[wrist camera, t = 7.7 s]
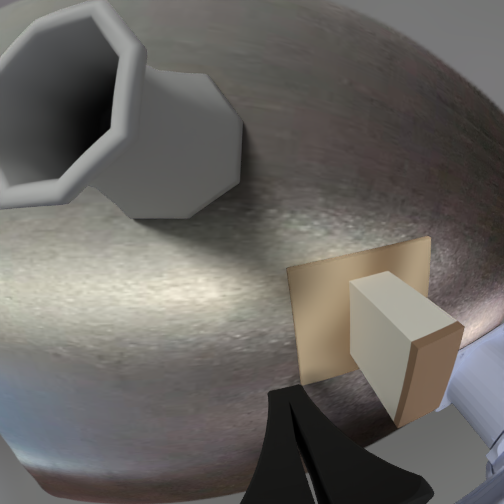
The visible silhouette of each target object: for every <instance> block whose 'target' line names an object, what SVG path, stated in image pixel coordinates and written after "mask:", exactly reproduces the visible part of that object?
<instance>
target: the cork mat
mask: <svg viewBox="0 0 504 504" xmlns="http://www.w3.org/2000/svg"><path fill="white" fill-rule="evenodd" d="M430 254H431V237H428V236H425V237H421V238H417V239H413V240H409V241H404V242H400V243H396V244H392V245H387V246H383V247H379V248H375V249H370V250H366V251H361V252H357V253H353V254H348V255H344V256H339V257H335V258H330V259H326V260H321V261H316V262H312V263H307V264H302V265H298V266H293V267H288V268H287V275H288V283H289V290H290V297H291V305H292V313H293V321H294V329H295V337H296V345H297V354H298V363H299V372H300V381H301V384H302V386H303V385H307V384H311V383H314V382H318V381H322V380H325V379H329V378H332V377H335V376H339V375H342V374H345V373H348V372H351V371H355V370H358V369H360V368H359V367H358V365H357V364H356V362H355V361H354V359H353V357H352V356H351V354H350V290H349V281H351V280H355V279H359V278H363V277H367V276H370V275H374V274H378V273H382V272H385V271H389V272H391V273H392V274H394V275H395V276H396V277H398V278H399V279H401V280H402V281H404V282H405V283H406V284H408V285H409V286H411V287H412V288H413V289H415V290H416V291H418V292H419V293H420V294H422V295H423V296H425V297H426V298H427V295H428V285H429V272H430Z"/></svg>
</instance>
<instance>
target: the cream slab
mask: <svg viewBox="0 0 504 504" xmlns="http://www.w3.org/2000/svg"><path fill="white" fill-rule="evenodd" d="M349 290H350V354H351V356H352V357H353V359H354V361H355V362H356V364H357V365H358V367H359V368H360V370H361V371H362V373H363V374H364V376H365V377H366V379H367V381H368V382H369V384H370V385H371V387H372V388H373V390H374V391H375V393H376V395H377V396H378V398H379V399H380V401H381V402H382V404H383V406H384V407H385V409H386V410H387V412H388V414H389V415H390V417H391V418H392V420H393V422H394V423H395V425H396V426H397V428H400V427H402V426H404V425H406V424H408V423H410V422H412V421H414V420H416V419H418V418H420V417H422V416H424V415H426V414H428V413H430V412H432V411H434V410H435V409H437V408H439V406H440V404H441V401H442V399H443V396H444V393H445V391H446V388H447V385H448V382H449V379H450V377H451V374H452V370H453V367H454V364H455V361H456V358H457V354H458V351H459V347H460V343H461V340H462V336H463V332H464V326H463V325H462V324H461V323H459V322H458V321H457V320H455V319H454V318H453V317H451V316H450V315H449V314H448V313H446V312H445V311H444V310H442V309H441V308H440V307H438V306H437V305H436V304H434V303H433V302H431V301H430V300H429V299H427V298H426V297H425V296H423V295H422V294H420V293H419V292H418V291H416V290H415V289H413V288H412V287H411V286H409V285H408V284H406V283H405V282H404V281H402V280H401V279H399V278H398V277H396V276H395V275H394V274H392V273H391V272H389V271H385V272H382V273H378V274H374V275H370V276H367V277H363V278H359V279H355V280H351V281H349Z"/></svg>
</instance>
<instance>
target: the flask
mask: <svg viewBox="0 0 504 504" xmlns="http://www.w3.org/2000/svg"><path fill="white" fill-rule="evenodd" d="M146 63H147V49H146V48H145V46H144V45H143V44H142V43H141V41H140V40H139V39H138V38H137V36H136V35H135V34H134V32H133V31H132V30H131V29H130V28H129V26H128V25H127V24H126V23H125V21H124V20H123V19H122V18H121V16H120V15H119V14H118V13H117V12H116V10H115V9H114V8H113V7H112V6H111V4H110V3H109V2H108V1H107V0H89V1H86V2H82V3H79V4H76V5H73V6H70V7H67V8H64V9H61V10H58V11H56V12H53V13H50V14H48V15H45V16H43V17H41V18H38V19H36V20H34V21H33V22H32V23H31V24H30V25H29V26H28V27H27V28H26V29H25V30H24V31H23V32H22V33H21V34H20V36H19V37H18V38H17V39H16V40H15V41H14V42H13V43H12V44H11V45H10V46H9V48H8V49H7V50H6V51H5V52H4V53H3V55H2V56H1V57H0V210H1V209H12V208H24V207H37V206H52V205H63V204H69V203H70V202H71V201H72V200H74V199H75V198H76V197H77V196H78V195H79V194H80V193H81V192H82V191H83V190H84V189H85V188H86V187H87V186H91V187H94V188H96V189H98V190H99V191H100V192H101V193H103V194H104V195H105V196H106V197H107V198H109V199H110V200H111V201H112V202H114V203H115V204H116V205H117V206H118V207H119V208H120V209H121V210H122V211H123V212H124V213H125V214H126V216H128V217H129V218H130V219H189V218H191V217H192V216H193V215H195V214H196V213H197V212H199V211H200V210H202V209H203V208H204V207H206V206H207V205H209V204H210V203H211V202H213V201H214V200H216V199H217V198H218V197H220V196H221V195H223V194H224V193H226V192H227V191H229V190H230V189H231V188H233V187H234V186H236V185H237V184H239V183H240V171H241V151H242V132H243V120H242V119H241V118H240V116H239V115H238V113H237V112H236V111H235V109H234V108H233V107H232V105H231V104H230V103H229V101H228V100H227V98H226V97H225V96H224V94H223V93H222V92H221V90H220V89H219V88H218V87H217V85H216V84H215V83H214V81H213V80H212V79H211V77H210V76H209V75H208V74H196V73H181V72H172V71H162V70H156V69H154V68H152V67H151V66H149V65H147V64H146Z"/></svg>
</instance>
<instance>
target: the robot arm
mask: <svg viewBox="0 0 504 504" xmlns="http://www.w3.org/2000/svg"><path fill="white" fill-rule="evenodd" d="M452 403H453V405H454V406H455V407H456V408H457V409H458V410H459V412H460V413H461V414H462V415H463V416H464V418H465V419H466V420H467V421H468V423H469V424H470V425H471V426H472V427H473V429H474V430H475V431H476V432H477V434H478V435H479V436H480V438H481V439H482V440H483V441H484V443H485V444H486V445H487V446H488V448H489V449H490V451H489V452H488V453H487V454H486V457H487V459H488V462H487V465H486V481H484V482H483V483H482V484H481V485H479V486H478V487H477V488H475V489H474V490H473V491H471V492H470V493H469V494H467V495H466V496H464V497H463V498H462V499H460V500H459V501H457V502H456V503H454V504H504V323H503V324H501V325H500V326H498V327H497V328H495V329H494V330H492V331H491V332H489V333H488V334H486V335H484V336H483V337H481V338H480V339H478V340H476V341H475V342H473V343H471V344H470V345H468V346H466V347H464V348H463V349H461V350H459V351H458V354H457V358H456V361H455V364H454V367H453V370H452V374H451V377H450V379H449V382H448V385H447V388H446V391H445V393H444V396H443V399H442V401H441V404H440V406H439V408H437V409H435V411H436V412H438V411H440V410H442V409H443V408H445V407H447V406H449V405H450V404H452ZM296 442H297V445H298V448H299V450H300V453H301V455H302V458H303V460H304V463H305V465H306V468H307V470H308V473H309V475H310V478H311V481H312V484H313V487H314V491H315V495H316V498H317V501H318V504H426V503H427V502H428V501H429V500H430V499H431V498H432V497H433V496H434V491H433V489H432V487H431V486H430V485H429V484H428V483H427V481H426V480H425V479H424V478H423V477H422V476H420V475H417V474H414V473H412V472H409V471H406V470H404V469H401V468H399V467H397V466H394V465H392V464H390V463H388V462H386V461H384V460H383V459H381V458H379V457H377V456H375V455H374V454H372V453H370V452H368V451H367V450H365V449H364V448H362V447H361V446H360V445H358V444H357V443H355V442H354V441H353V440H351V439H350V438H349V437H348V436H346V435H345V434H344V433H343V432H342V431H341V430H339V429H338V428H337V427H336V426H335V425H334V424H333V423H332V422H331V421H330V420H329V419H328V418H327V417H326V416H325V415H324V414H323V413H322V412H321V411H320V410H319V408H318V407H317V406H316V405H315V404H314V402H313V401H312V400H311V399H310V397H309V396H308V395H307V393H306V392H305V390H304V388H303V387H302V385H299V384H298V385H294V386H290V387H286V388H282V389H277V390H272V391H269V392H268V420H267V427H266V433H265V438H264V442H263V447H262V451H261V454H260V458H259V461H258V464H257V467H256V470H255V472H254V475H253V477H252V480H251V482H250V485H249V487H248V489H247V491H246V493H245V495H244V497H243V499H242V501H241V503H240V504H315V502H314V499H313V496H312V493H311V490H310V487H309V484H308V481H307V478H306V475H305V471H304V468H303V465H302V462H301V459H300V455H299V452H298V449H297V445H296Z"/></svg>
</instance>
